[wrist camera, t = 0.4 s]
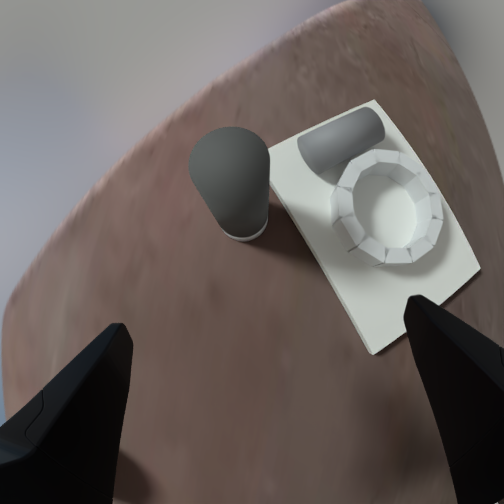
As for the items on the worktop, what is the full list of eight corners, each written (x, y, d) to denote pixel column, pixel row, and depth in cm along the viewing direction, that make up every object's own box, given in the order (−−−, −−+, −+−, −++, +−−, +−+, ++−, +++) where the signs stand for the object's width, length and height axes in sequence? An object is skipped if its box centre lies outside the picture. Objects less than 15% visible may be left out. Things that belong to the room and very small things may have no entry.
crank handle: (277, 226, 23) (286, 174, 13) (234, 250, 23) (211, 215, 13) (252, 186, 23) (244, 114, 14) (210, 209, 23) (175, 151, 13)
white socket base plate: (474, 269, 22) (502, 264, 18) (368, 352, 21) (388, 362, 17) (371, 105, 24) (384, 79, 20) (254, 161, 24) (253, 136, 20)
